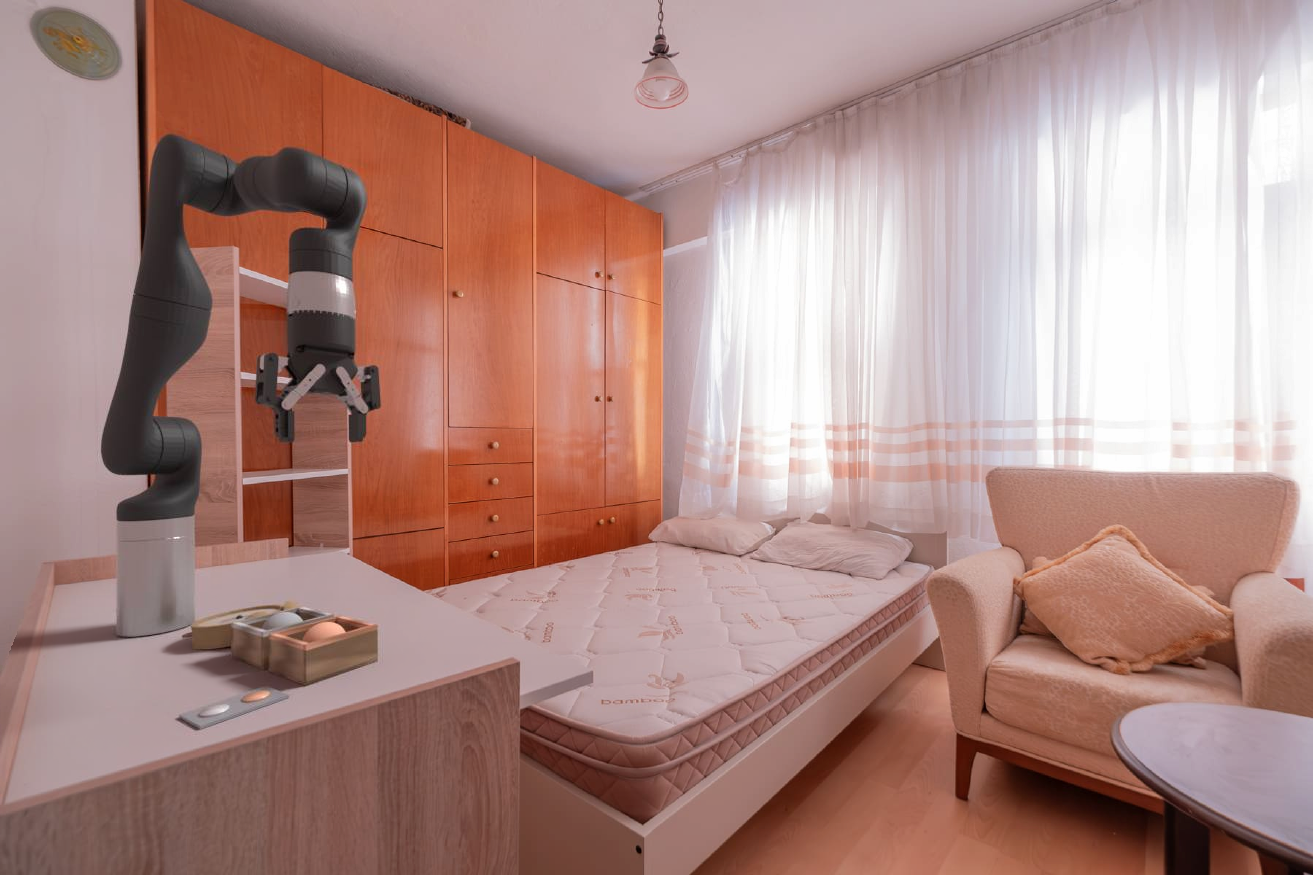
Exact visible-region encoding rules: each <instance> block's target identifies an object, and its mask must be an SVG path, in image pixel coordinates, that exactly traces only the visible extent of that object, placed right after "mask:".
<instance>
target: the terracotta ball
mask: <svg viewBox="0 0 1313 875" xmlns="http://www.w3.org/2000/svg"><path fill="white" fill-rule="evenodd" d="M342 633H345V630H344V629H343V628H342V627H341V626H340V625H338V624H336V623H333V622H323V623H319V624H317V625H315V626H313V627H312V628H310V629H309V630H308V631H307V632H306V634H305V635H304V637H303V639H302V641H304V642H307V643H310V642H314V641H317V640H321V639H324V638H328V637H331V636H335V635H338V634H342Z"/></svg>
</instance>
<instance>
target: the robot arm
mask: <svg viewBox="0 0 1313 875" xmlns="http://www.w3.org/2000/svg"><path fill="white" fill-rule="evenodd" d="M149 171H150V172H149V180H148V194H147V204H146V205H147V206H146V208H147V209H146V221H145V222H146V223H145V231H144V238H143V244H142V245H143V246H142V251H141V254H140V255H141V256H140V262H139V264H138V265H139V266H138V270H137V271H138V272H137V276H136V281H135V285H134V289H133V294H132V299H131V304H130V305H131V306H130V310H129V311H130V312H129V317H128V318H129V319H128V324H127V325H128V327H127V334H126V338H125V339H126V340H125V346H124V351H123V352H124V353H123V356H122V360H121V361H122V362H121V368H120V371H119V374H118V378H117V382H116V385H115V390H114V392H113V396H112V398H111V403H110V405H109V410H108V412H107V415H106V419H105V423H104V426H103V430H102V435H101V440H100V453H101V454H100V455H101V460H102V463H103V466H105V468H106V469H107V470H108V471H109V472H110V473H111V474H114V475H118V476H149V475H154V479H153V482H152V484H151V485H150V486H149V487H147V489H145V490H143V491H142V492H140V493H137V494H136V495H134V496H130V497H128V498H125V499H123V500H121V501H119V503H118V504H117V506H116V519H115V520H116V608H115V610H116V611H115V612H116V613H115V614H116V617H115V624H116V625H115V626H116V628H115V629H116V630H115V631H116V633H115V634H116V636H119V637H128V638H129V637H141V636H142V637H143V636H144V637H145V636H148V635H157V634H163V633H166V632H172V631H176V630H180V629H183V628H186V627H188V626H191V624H192V623H194V622H196V621H195V620H196V618H195V617H196V612H195V611H196V606H195V604H196V599H195V598H196V572H195V571H196V568H195V567H196V564H195V563H196V559H195V557H196V553H195V552H196V547H195V546H196V545H195V544H196V542H195V541H196V540H195V539H196V534H195V529H196V528H195V524H196V523H195V521H196V519H195V517H196V516H195V514H196V513H195V512H196V511H195V510H196V504H197V501H198V499H199V495H200V489H201V488H200V486H201V485H200V484H201V470H202V469H201V468H202V456H203V455H202V452H203V451H202V450H203V448H202V447H203V446H202V445H203V444H202V438H201V433H200V430H199V428H198V426H197V425H196V424H195V423H194V422H193V421H192V420H190V419H188V418H186V417H179V416H163V415H161V416H160V415H154V413H155V409H156V405H157V404H158V403H157V402H158V400H159V397H160V396H161V393H162V391H163V389H164V387H165V386H166V384H167V383H168V382H169V381H170V379H171V378H172V377H173V376H175V374H176V373H177V372H178V371H179V370H180V369H181V368H182V367H183V366H184V365H186V364H187V362H188V361H190V360H191V359H192V358H193V356H195V354H196V353H198V351H199V350H200V349H201V347H202V346H203V345H204V344H205V341H206V339H207V335H208V331H209V327H210V326H209V325H210V321H211V315H212V309H213V308H212V307H213V297H212V296H213V295H212V292H211V289H210V287H209V285H208V282H207V280H206V277H205V276H204V274H203V272H202V269H201V268H200V266H199V265H198V263H197V260H196V259H195V256H194V255H193V252H192V250H191V248H190V245H189V242H188V239H187V237H186V232H185V224H184V205H186V206H189V207H191V208H194V209H198V210H201V211H203V212H205V213H208V214H211V215H216V216H221V217H235V216H236V217H237V216H241V215H244V214H248V213H252V212H253V213H254V212H259V211H272V212H278V213H279V212H280V213H286V214H287V213H288V214H290V213H293V214H295V213H301V212H304V211H305V212H307V213H309V214H312V215H314V216H315V215H316V216H318V217H320V218H324V219H325V221H326V225H325V228H322V227H310V226H309V227H300V228H297V229H295V230H293V231H292V232H291V233H290V235H289V240H288V284H287V288H286V289H287V290H286V348H287V355H286V356H282V355H281V356H280V355H278V354H277V353H275V352H267V353H263V354H260V355H258V357H257V359H256V373H255V374H256V375H255V390H254V402H255V403H256V404H257V405H260V406H262V405H263V406H264V407H268V408H270V409H272V411H273V428H274V429H273V432H274V436H275V437H276V438H278V441H279V442H280V443H294V441H295V411H294V410H292V408H293V407H294V406H295V404H296V403H297V402H298V401H299V400H300V399H301V398H302V397H304V396H305V395H315V394H319V395H320V394H321V395H323V396H335V397H336V398H337V399H338V401H339V402H342V403H343V404H344V406H345V407H346V408H347V410H348V411H349V413H350V414H348V418H347V419H348V420H347V421H348V441H349V443H362V442H363V441H364V439H365V438H366V436H367V415H368V413H369V412H372V411H375V410H379V409H380V408H381V407H382V402H381V401H382V400H381V387H380V372H379V369H380V368H379V367H378V366H377V365H373V364H372V365H367V366H361V365H360V366H359V365H357V364H356V361H355V354H356V349H357V348H356V346H357V345H356V344H357V343H356V342H357V341H356V316H357V312H356V297H355V296H356V295H355V292H354V291H355V290H354V283H353V282H354V280H353V278H354V272H353V270H354V268H353V267H354V266H353V260H354V259H353V256H354V249H355V244H356V242H357V238H358V236H359V230H360V227H361V224H362V221H363V218H364V216H365V212H366V209H367V205H368V192H367V189H366V187H365V184H364V181H363V180H362V178H361V177H360V176H359V175H358V174H357V173H356V172H355V171H353V170H352V169H350V168H347V167H346V166H343V165H341V164H338V163H336V162H333V161H331V160H329V159H327V158H325V157H322V156H320V155H319V154H315V153H314V152H312V151H309V150H306V149H303V148H299V147H295V146H294V147H293V146H286V147H283V148H282V149H280V150H278V152H276V153H274V154H273V155H255V156H249V157H246V158H245V159H243V160H241V162H237V161H235V160H234V159H232V158H230V157H229V156H227V155H225V154H223V153H221V152H218V151H215V150H213V149H212V148H209V147H207V146H204V145H202V144H200V143H197V142H195V141H194V140H192V139H188V138H186V137H183V136H181V135H178V134H173V133H168V134H165V135H164V136H162V137H161V138H160V139H159V141H158V142H157V143H156V147H155V149H154V151H153V155H152V158H151V164H150V170H149ZM283 368H284V369H285V370H286V372H287V373H288V374H289V376H290V377H291V379H290V380H289V381H288V383H286V385H284V387H283V388H282V389H281V393H280V394H279V395H278V396H277V394H278V393H277V389H278V374H280V373H281V372H282V371H283ZM355 377H356V378H357V380H358V381H359V382H360V390H359V388H358V387H357V386H356V385H355V384H354V382H353V380H354V378H355Z"/></svg>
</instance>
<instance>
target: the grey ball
mask: <svg viewBox="0 0 1313 875" xmlns="http://www.w3.org/2000/svg"><path fill="white" fill-rule="evenodd" d="M301 621H303V620H302V619H301V617H300V616H298V615H297V614H295V613H292V612H281V613H278V614H275V615H273V616H271V617H270V618H269V619H268V620H267V621H266V622H265V623H264V625H263V626H262V628H261V629H264V630H270V629H274V628H278V627H282V626H285V625H289V624H293V623H297V622H301Z"/></svg>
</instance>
